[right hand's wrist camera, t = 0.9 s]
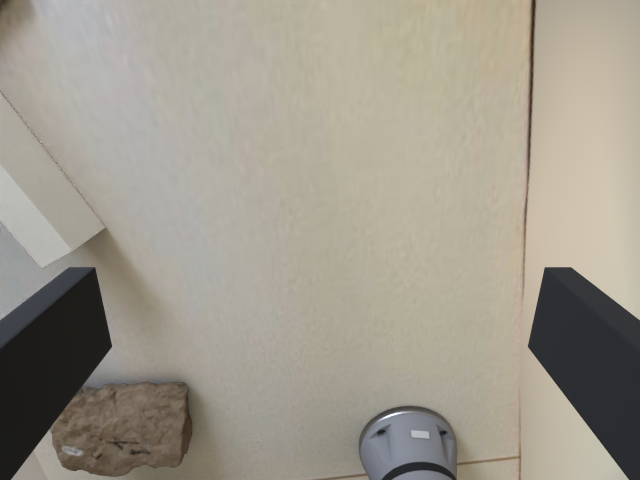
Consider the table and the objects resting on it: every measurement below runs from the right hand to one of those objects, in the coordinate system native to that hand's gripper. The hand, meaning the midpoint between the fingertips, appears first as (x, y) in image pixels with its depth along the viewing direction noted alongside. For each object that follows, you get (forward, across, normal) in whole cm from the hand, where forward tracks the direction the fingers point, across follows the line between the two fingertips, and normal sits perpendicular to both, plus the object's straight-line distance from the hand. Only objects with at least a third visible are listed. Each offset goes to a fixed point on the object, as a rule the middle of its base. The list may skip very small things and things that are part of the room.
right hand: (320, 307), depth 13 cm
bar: (+41, +35, +3) cm, 54 cm away
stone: (+41, +30, +42) cm, 66 cm away
